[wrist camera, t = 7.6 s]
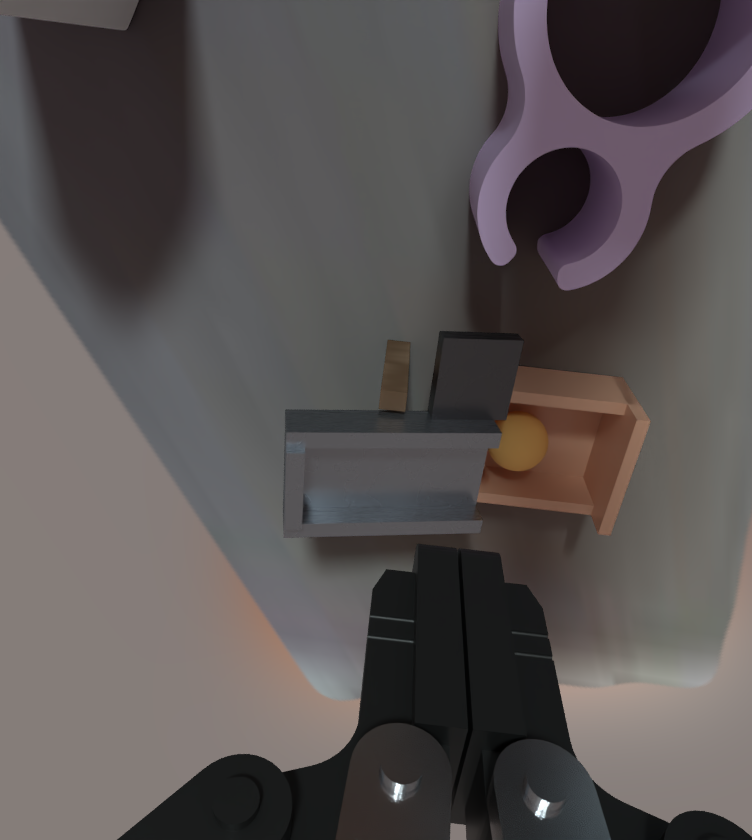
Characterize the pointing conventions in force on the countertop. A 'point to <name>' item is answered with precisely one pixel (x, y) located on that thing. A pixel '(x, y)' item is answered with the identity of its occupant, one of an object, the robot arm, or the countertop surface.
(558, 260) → the clip
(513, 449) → the ball
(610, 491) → the cup
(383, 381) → the stand
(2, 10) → the milk carton
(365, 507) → the tipping track
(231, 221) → the countertop surface
